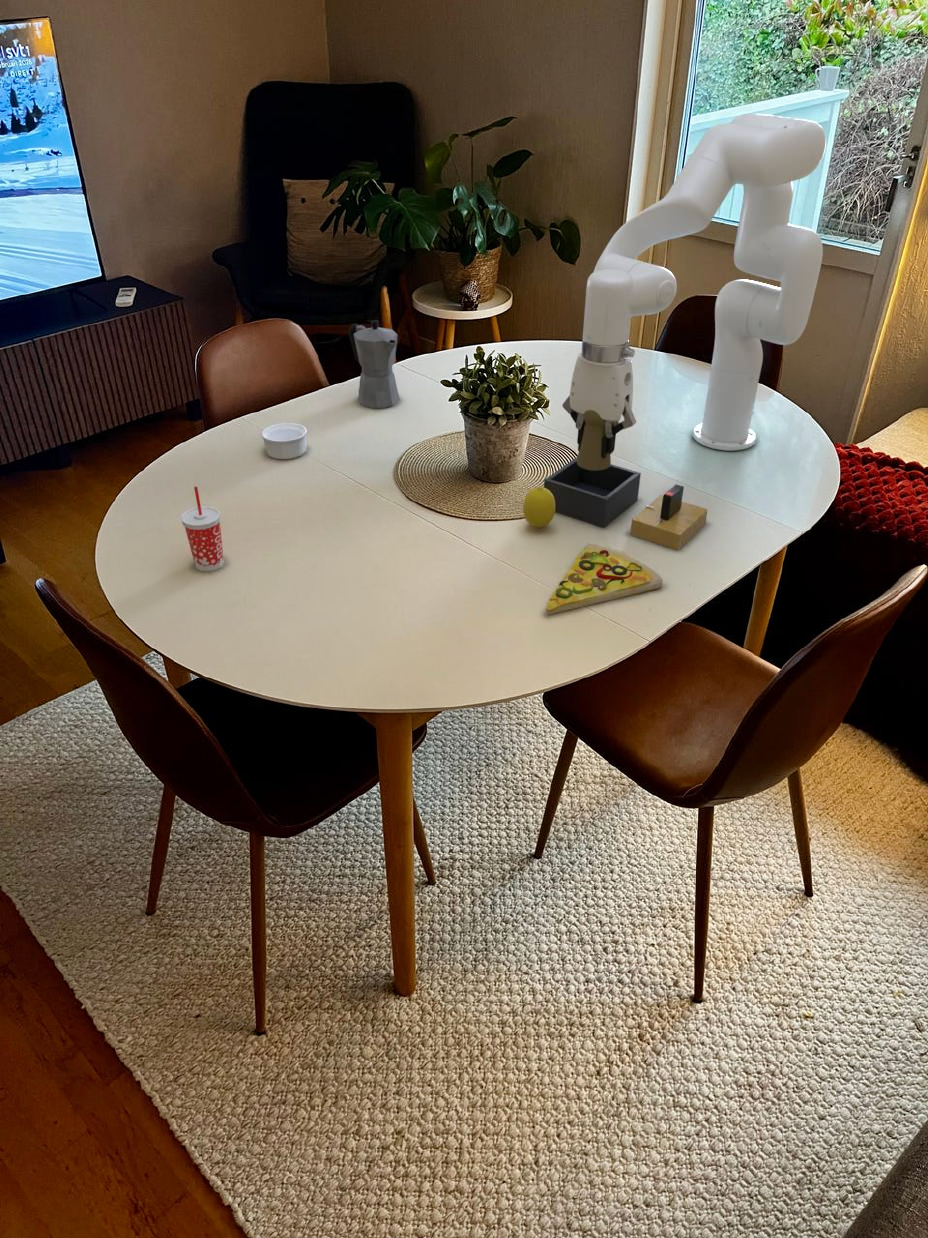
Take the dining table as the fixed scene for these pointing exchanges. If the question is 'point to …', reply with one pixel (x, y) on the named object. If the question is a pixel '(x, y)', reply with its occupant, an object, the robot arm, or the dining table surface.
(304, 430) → the ramekin
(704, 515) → the block
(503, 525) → the dining table surface
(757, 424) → the dining table surface
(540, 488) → the lemon
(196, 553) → the beverage cup
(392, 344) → the coffeepot
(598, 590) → the pizza slice
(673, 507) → the tap handle
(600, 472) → the sink basin
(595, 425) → the cork
